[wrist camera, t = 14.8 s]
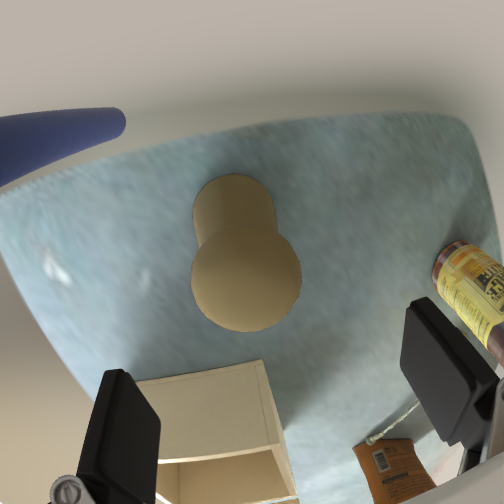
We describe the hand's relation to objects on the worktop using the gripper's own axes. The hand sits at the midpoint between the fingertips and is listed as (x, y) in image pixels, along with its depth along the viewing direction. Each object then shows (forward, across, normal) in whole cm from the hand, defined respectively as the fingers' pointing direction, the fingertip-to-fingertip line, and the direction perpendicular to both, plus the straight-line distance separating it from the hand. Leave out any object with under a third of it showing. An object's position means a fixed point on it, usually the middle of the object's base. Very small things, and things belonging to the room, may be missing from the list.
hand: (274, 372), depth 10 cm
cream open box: (+15, +8, +22) cm, 28 cm away
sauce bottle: (+16, -20, +10) cm, 27 cm away
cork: (+15, 0, 0) cm, 15 cm away
